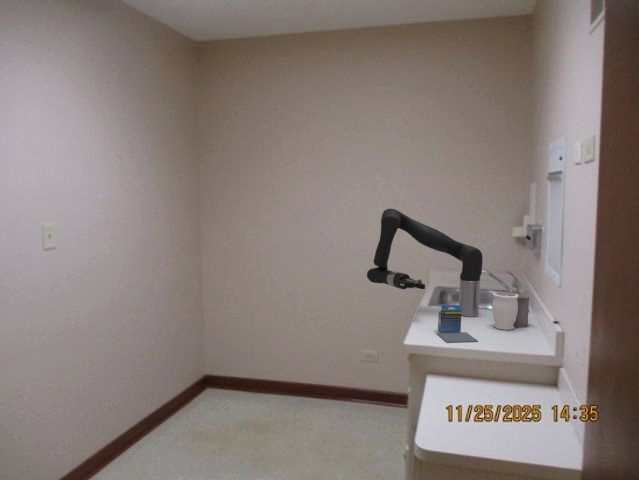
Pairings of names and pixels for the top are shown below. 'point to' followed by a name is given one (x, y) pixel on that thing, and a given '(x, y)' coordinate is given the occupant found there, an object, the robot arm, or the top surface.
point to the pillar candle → (522, 310)
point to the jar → (504, 310)
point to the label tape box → (449, 319)
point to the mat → (457, 337)
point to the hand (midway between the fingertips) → (423, 286)
